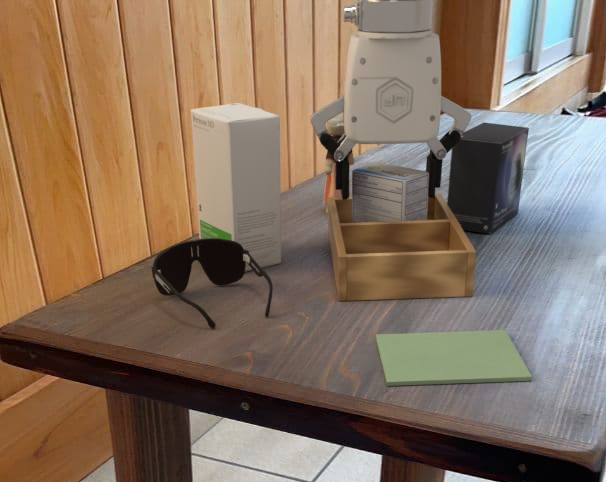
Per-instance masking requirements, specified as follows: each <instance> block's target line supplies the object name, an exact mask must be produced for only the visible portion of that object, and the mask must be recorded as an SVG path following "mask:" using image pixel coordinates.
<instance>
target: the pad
mask: <svg viewBox="0 0 606 482" xmlns="http://www.w3.org/2000/svg"><path fill="white" fill-rule="evenodd" d="M375 341H376V345H377V350H378V355H379V358H380V362H381V367H382V371H383V375H384V380H385V385H386V386H387V387H396V386H424V385H425V386H426V385H427V386H428V385H451V384H452V385H453V384H479V383H481V384H482V383H505V382H506V383H509V382H532V381H533V375H532V373H531V372H530V370H529V368H528V367H527V365H526V363H525V361H524V359H523V358H522V356H521V354H520V352H519V351H518V349H517V348H516V346H515V343H514V341H513V340H512V339H511V337H510V335H509V333H508V332H507V329H493V330H491V329H490V330H489V329H488V330H464V331H462V330H461V331H436V332H410V333H408V332H406V333H380V334H378V333H377V334H375Z"/></svg>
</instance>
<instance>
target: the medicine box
mask: <svg viewBox="0 0 606 482" xmlns="http://www.w3.org/2000/svg"><path fill="white" fill-rule="evenodd" d="M428 186H429V173H428V172H427V171H426V170H421V169H417V168H411V167H407V166H400V165H395V164H394V165H393V164H388V163H381V162H373V163H369V164H366V165H361V166H359V167H357V168H355V169H352V171H351V197H352V223H360V222H389V221H417V220H427V210H428Z"/></svg>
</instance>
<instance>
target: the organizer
mask: <svg viewBox="0 0 606 482" xmlns="http://www.w3.org/2000/svg"><path fill="white" fill-rule="evenodd" d="M327 208H328V214H327V237H328V244H329V249H330V250H329V251H330V255H331V260H332V266H333V273H334V279H335V285H336V292H337V297H338V302H346V301H349V302H350V301H380V300H406V299H407V300H410V299H435V298H436V299H437V298H438V299H439V298H462V297H463V298H464V297H466V298H469V297H470V298H471V297H473V296H474V286H475V285H474V284H475V273H476V263H477V253H478V252H477V251H476V248H475V247H474V246H473V244H472V242H471V241H470V239H469V237H468V236H467V234H466V231H465V230H463V229H462V227H461V226H460V224H459V223H458V221H457V219H456V218H455V216H454V214H453V213H452V211H451V209H450V208H449V206H448V204H447V200H445V198H444V196H443V194H442V193H435V197H434V198H430V197H429V196H428V210H427V220H417V221H389V222H360V223H352V196H350V197H349V198H347V199H342V197H335V198H334V197H333V198H328V205H327Z"/></svg>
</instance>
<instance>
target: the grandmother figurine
mask: <svg viewBox="0 0 606 482" xmlns="http://www.w3.org/2000/svg"><path fill="white" fill-rule="evenodd" d="M326 128H327V130H328V132H329V133H330V135H331V136H332V137H333V138H334V139H335V140H336V141H337V142H338V141H339V139H340V138H341V137H342V136H343V134H344V133H345V130H344V123H343V112H342V113H341V114H339V115H337V116H335V117H334V118H332V119H330V120H329V121H327V122H326ZM347 157H348V159H349V166H353V165H354V164H355V162H356V159H355V158H354V152H353V148H352V149H351V151H350V152H349V153H348V155H347ZM335 167H336V160H335V158H334V157H333V156H332V155H331V154H330V153H329V152H328V151H327V150H326V155H325V167H324V169H323V172H324V174H325V175H326V178H325V182H324V183H325V184H324V191H323V201H322V203H323V206H328V198H333V197H334V198H335V197H342V195H341V190H336V188H335ZM350 181H351V180H349V197H351V183H350ZM325 214H327V215H328V207H326V210H325Z"/></svg>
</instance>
